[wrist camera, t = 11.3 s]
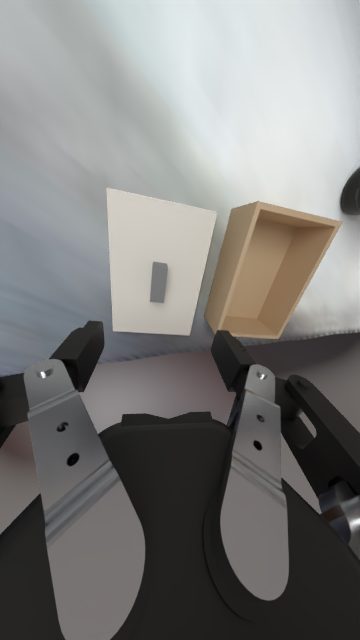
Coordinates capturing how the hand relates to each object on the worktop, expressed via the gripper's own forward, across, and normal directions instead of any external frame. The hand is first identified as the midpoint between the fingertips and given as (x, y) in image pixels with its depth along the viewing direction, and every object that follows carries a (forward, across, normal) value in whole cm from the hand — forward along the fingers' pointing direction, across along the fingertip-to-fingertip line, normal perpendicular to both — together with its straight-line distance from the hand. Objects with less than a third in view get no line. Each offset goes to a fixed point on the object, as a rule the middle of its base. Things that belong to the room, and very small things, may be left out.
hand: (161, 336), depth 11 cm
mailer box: (+18, -16, -2) cm, 24 cm away
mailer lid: (+18, 0, 0) cm, 18 cm away
